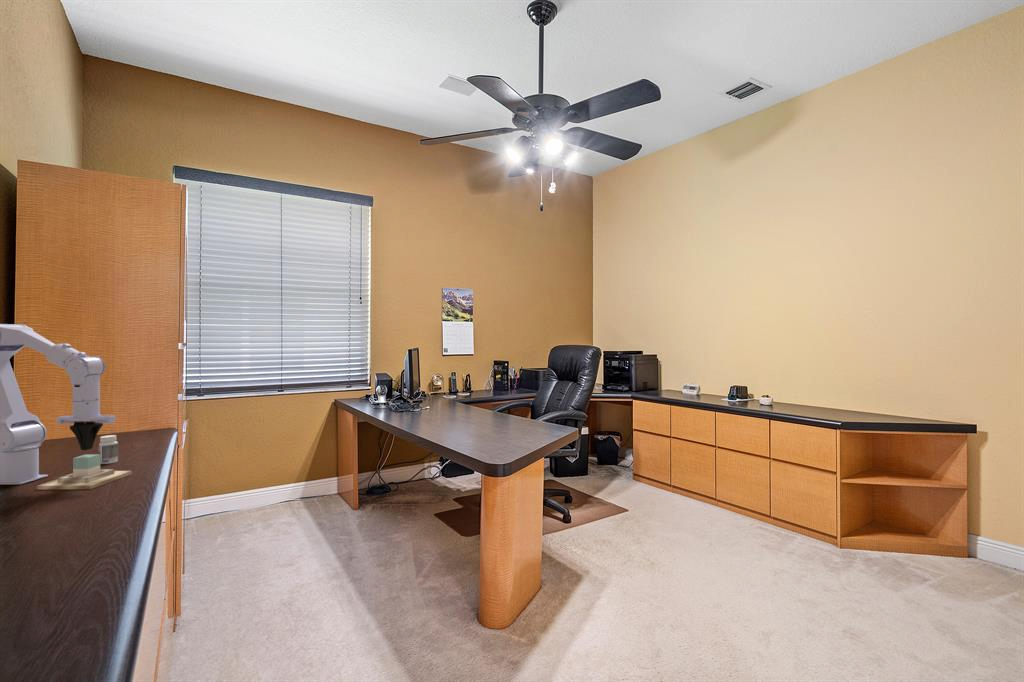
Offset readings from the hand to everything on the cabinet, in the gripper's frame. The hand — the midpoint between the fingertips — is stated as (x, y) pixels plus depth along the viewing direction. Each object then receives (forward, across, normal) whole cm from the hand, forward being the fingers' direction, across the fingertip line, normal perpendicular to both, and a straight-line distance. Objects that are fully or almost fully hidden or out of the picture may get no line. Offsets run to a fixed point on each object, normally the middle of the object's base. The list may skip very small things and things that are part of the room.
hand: (86, 449), depth 134 cm
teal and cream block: (+8, 0, 0) cm, 8 cm away
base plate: (+9, 0, 0) cm, 9 cm away
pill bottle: (+9, -11, +21) cm, 25 cm away
